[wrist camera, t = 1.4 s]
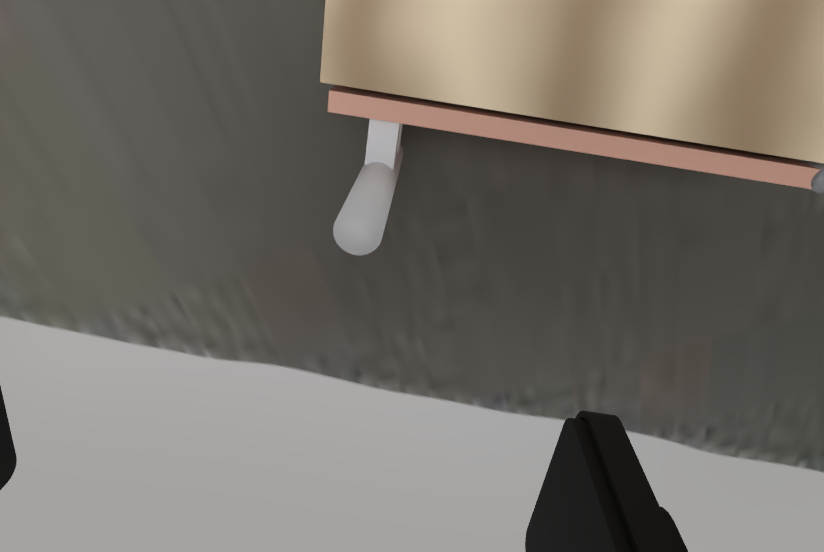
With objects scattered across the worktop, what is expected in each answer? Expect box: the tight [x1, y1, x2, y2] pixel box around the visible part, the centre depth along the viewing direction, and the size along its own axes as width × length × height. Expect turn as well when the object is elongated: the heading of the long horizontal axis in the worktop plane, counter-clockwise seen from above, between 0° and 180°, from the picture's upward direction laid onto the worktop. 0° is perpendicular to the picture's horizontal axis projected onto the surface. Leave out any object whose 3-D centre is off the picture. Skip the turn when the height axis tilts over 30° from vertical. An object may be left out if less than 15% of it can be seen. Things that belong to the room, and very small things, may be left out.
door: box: [328, 85, 824, 255], centre depth 24 cm, size 20×4×15 cm, turn 81°
